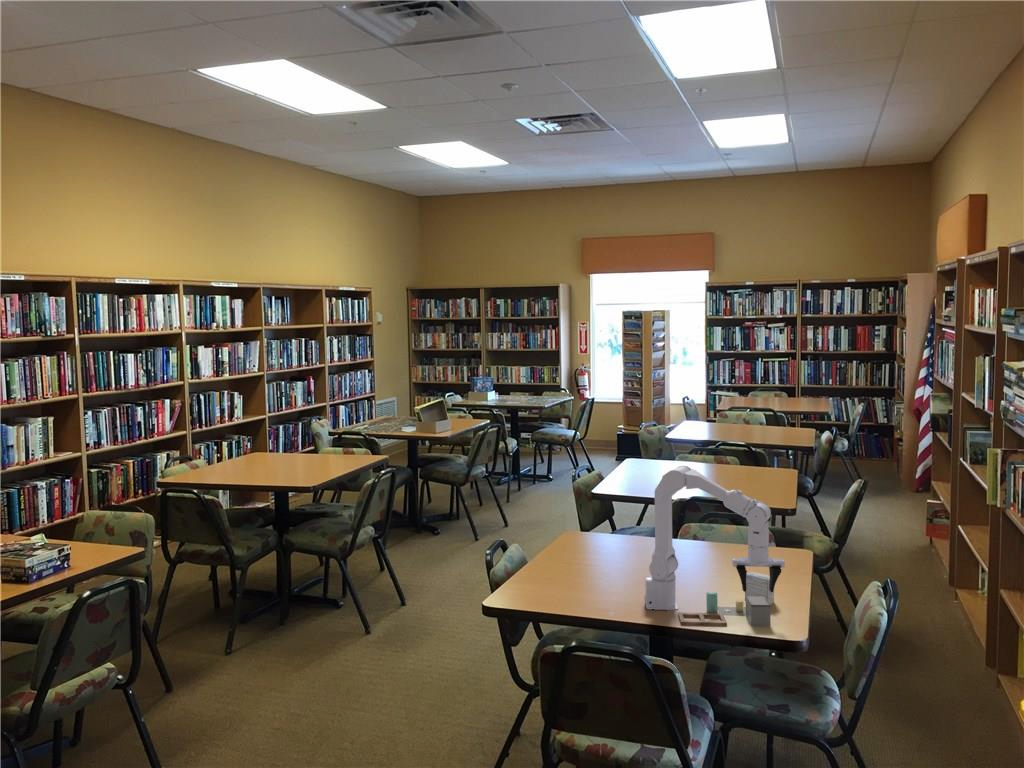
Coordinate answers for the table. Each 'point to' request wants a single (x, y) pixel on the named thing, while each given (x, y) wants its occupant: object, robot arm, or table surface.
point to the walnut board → (702, 619)
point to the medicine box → (759, 586)
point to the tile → (733, 609)
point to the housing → (758, 611)
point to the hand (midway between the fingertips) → (757, 590)
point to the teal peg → (712, 602)
